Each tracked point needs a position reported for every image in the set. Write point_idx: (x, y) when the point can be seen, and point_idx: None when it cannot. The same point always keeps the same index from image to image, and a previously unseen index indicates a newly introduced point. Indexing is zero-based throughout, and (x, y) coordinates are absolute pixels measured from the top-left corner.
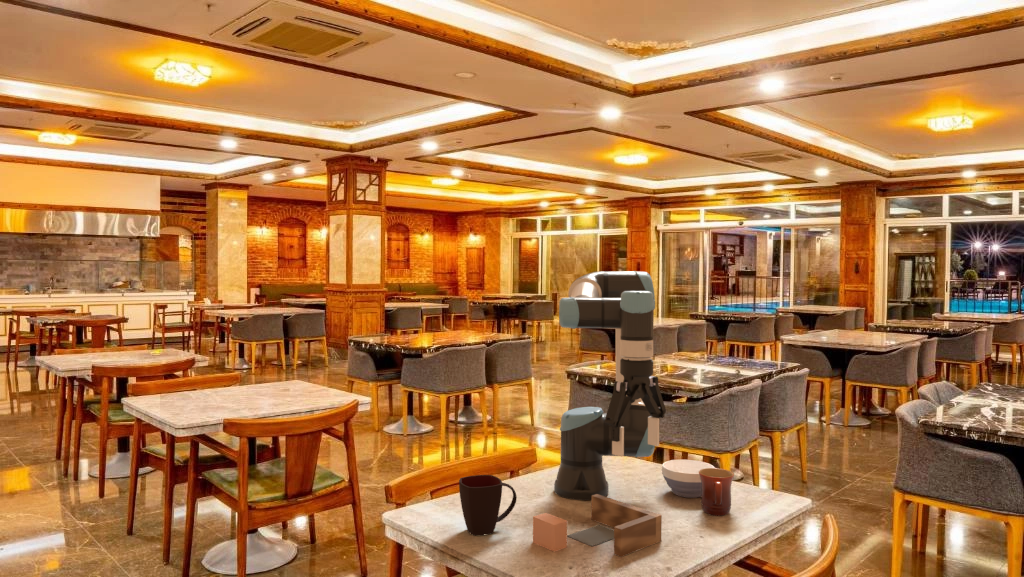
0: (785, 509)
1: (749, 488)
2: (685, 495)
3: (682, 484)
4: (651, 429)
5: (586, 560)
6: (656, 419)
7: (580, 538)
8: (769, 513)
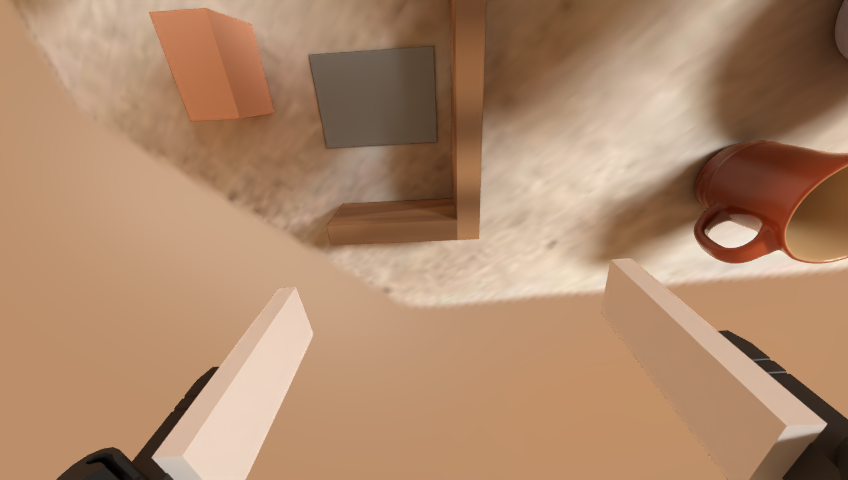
0: None
1: None
2: (838, 32)
3: None
4: (672, 351)
5: (277, 192)
6: (734, 476)
7: (328, 95)
8: None
